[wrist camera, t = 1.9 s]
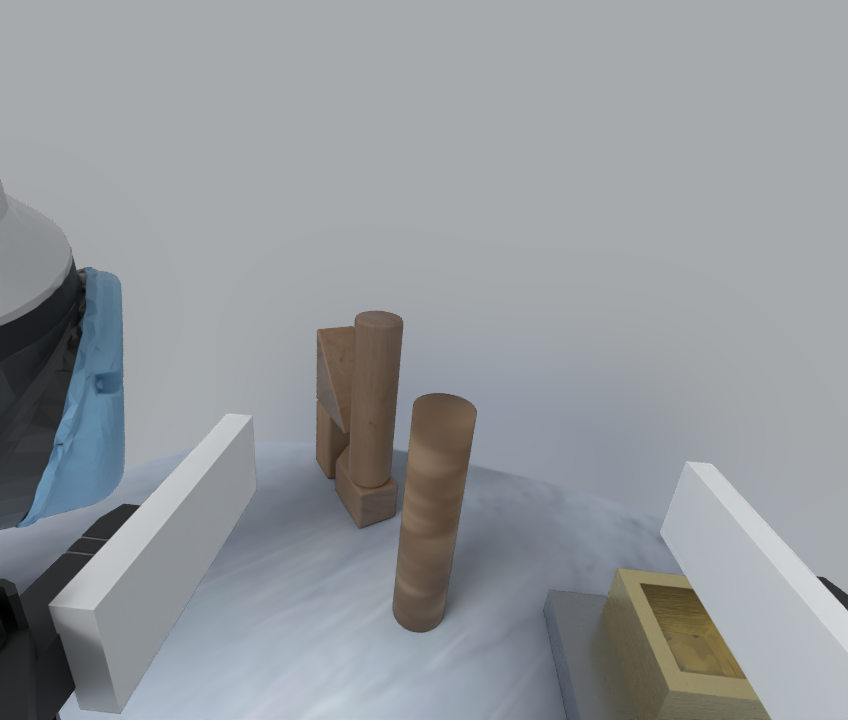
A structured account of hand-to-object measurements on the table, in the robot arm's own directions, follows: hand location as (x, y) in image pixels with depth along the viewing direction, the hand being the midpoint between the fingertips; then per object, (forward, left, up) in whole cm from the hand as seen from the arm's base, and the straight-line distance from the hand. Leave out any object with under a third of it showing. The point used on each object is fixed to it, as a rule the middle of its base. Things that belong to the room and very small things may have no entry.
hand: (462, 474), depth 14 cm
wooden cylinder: (0, +11, -20) cm, 23 cm away
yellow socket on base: (+16, +7, -20) cm, 26 cm away
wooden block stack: (-7, +23, -20) cm, 31 cm away
